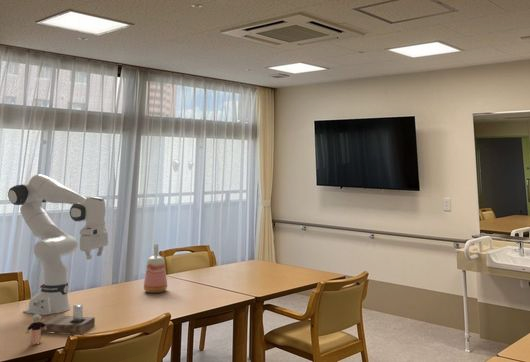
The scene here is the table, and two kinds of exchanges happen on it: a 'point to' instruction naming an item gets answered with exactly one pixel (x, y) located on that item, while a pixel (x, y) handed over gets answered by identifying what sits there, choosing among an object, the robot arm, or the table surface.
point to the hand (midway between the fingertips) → (94, 257)
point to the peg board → (67, 325)
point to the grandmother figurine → (36, 330)
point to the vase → (155, 273)
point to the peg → (77, 313)
